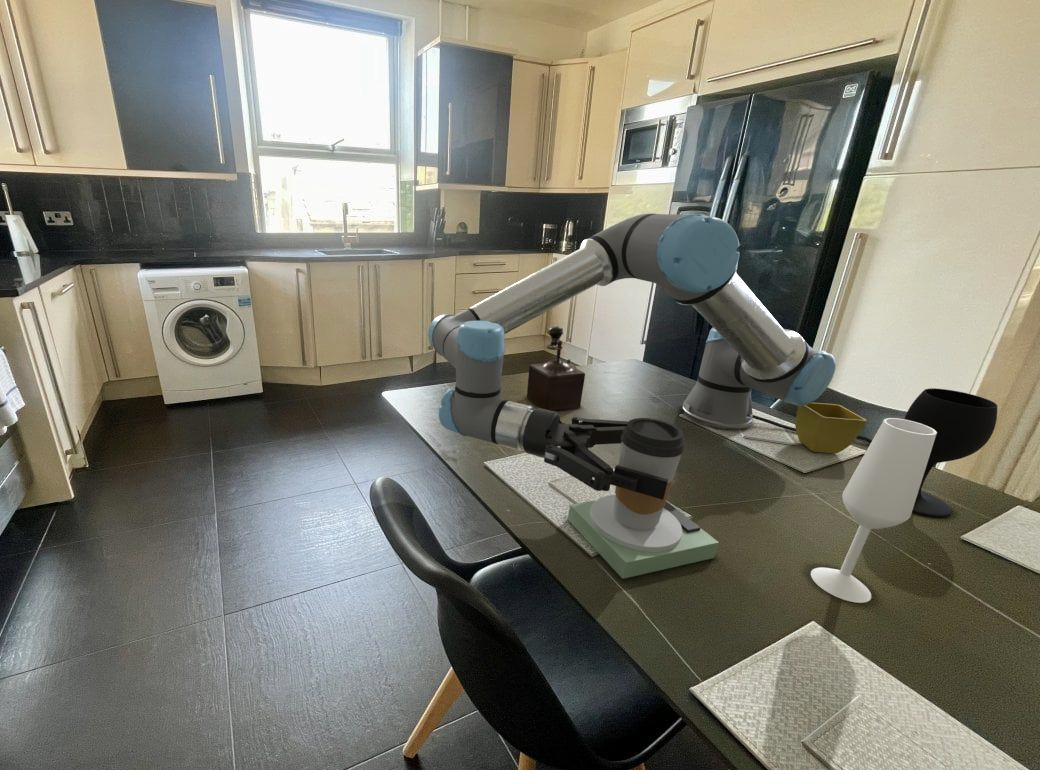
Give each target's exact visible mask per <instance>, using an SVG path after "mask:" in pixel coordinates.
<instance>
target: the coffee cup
mask: <svg viewBox="0 0 1040 770" xmlns="http://www.w3.org/2000/svg"><path fill="white" fill-rule="evenodd" d="M628 421H629V422H628V424H627V426H626V427H625V428H624V429H623V433H622V435H621V441H622V443H621V445H620V454H619V460H618V464H617V465H618V466H622V467H626V468H629V469H633V470H637V471H640V472H644V473H647V474H651V475H655V476H658V477H662V478H665V479H668V483H667V487H666V491H665V495H664V499H663V500H662V499H658V498H655V497H651V496H648V495H645V494H641V493H638V492H635V491H631V490H628V489H625V488H621V487H618V486H615V488H614V489H615V490H614V495H615V502H614V510H613V511H614V514H615V517H616V519H617V520H618V521H619V522H620V523H621V524H622V525H624V526H626V527H628V528H631V529H634V530H639V531H647V530H651V529H653V528H654V527H655V526H656V525H657V524H658V523H659V520H660V517H661V514H662V511H663V508H664V506H665V504H666V501H667V500H668V497H669V495H670V492H671V488H672V486H673V484H674V483H673V482H674V480H675V474H676V471H677V469H678V466H679V463H680V460H681V457H682V455H683V454H684V453H685V445H686V440H685V438H684V432H683V429H681V428H680V427H679V426H676V425H675V424H673V423H670V422H668V421H665V420H662V419H657V418H651V417H650V418H649V417H635V418H632V419H630V420H628ZM667 502H668V501H667Z"/></svg>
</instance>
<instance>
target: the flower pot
mask: <svg viewBox="0 0 1040 770" xmlns="http://www.w3.org/2000/svg"><path fill="white" fill-rule="evenodd" d="M867 421H868V420H867V418H865V417H862V416H860V415H859V414H857V413H855V412H853V411H851V410H850V409H848V408H846V407H844V406H843V405H841V404H835V403H825V402H811V403H809V404H807V405H804V406H797V411H796V416H795V423H794V424H795V428H796V432H795V433H796V436H797V438H798V441H799V443H801V444H802V445H804V446H805V447H806V448H807V449H809V450H810V451H811V452H813V453H814V452H815V453H823V454H824V453H826V454H839V453H841V452H843V451H844V450H846V449H847V448H848V447H850V446H851V445H852V444H853V443H854V442H855V440H856V438H857V436H858V435H859V436H860V433H861V432H862V430H863V428H864V427H865V425H866V423H867Z"/></svg>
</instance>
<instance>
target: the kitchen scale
mask: <svg viewBox="0 0 1040 770" xmlns="http://www.w3.org/2000/svg"><path fill="white" fill-rule="evenodd" d="M614 502H615V494H612V495H605V496H603V497H600V498H598V499H596V500H595V499H594V500H590V501H584V502H577V503H572V504H569V508H568V513H567V514H568V515H567V520H568V521H569V523H571V525H572V526H573V527H574V528H575V529H576V530H577V531H578V532H579V534H581V535H582V537H583V538H584V540H586V541H587V542H588V543H589V544H590V546H592V548H593V549H595V551H596V552H597V553H598V554H599V555H600V556H601V557H602V558H603V559H604V561H605V562H606V563H607V564H608V565H609V566H610V567H611V568H612V569H613V571H615V573H616V574H617V575H618V576H619V577H620V578H621V579H622V580H623V579H624V580H625V579H628V578H632V577H636V576H637V577H638V576H642V575H645V574H650V573H654V572H655V573H656V572H659V571H664V570H667V569H672V568H676V567H680V566H685V565H690V564H693V563H699V562H702V561H706V560H711V559H715V557H716V554H717V550H718V547H719V544H720V542H719V541H718V540H717V539H716V538H714V537H713V536H711V535H710V534H709V533H708V532H706V530H704V529H702V528H701V526H699V524H697V523H696V522H694V520H692V519H690V518H689V517H688V516H687V515H685V514H684V513H682V512H681V511H680V510H679V509H678V508H676V507H675V506H673V505H672V504H671V503H669V502H668V501H666V504H665V506H664V508H663V511H662V514H661V517H660V520H659V523H658V524H657V525H656V526H655V527H654V528H653V529H651V530H647V531H639V530H634V529H631V528H628V527H626V526H624V525H622V524H621V523H620V522H619V521H618V520H617V519H616V517H615V514H614V511H613V510H614Z"/></svg>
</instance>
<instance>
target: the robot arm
mask: <svg viewBox="0 0 1040 770" xmlns="http://www.w3.org/2000/svg"><path fill="white" fill-rule="evenodd" d="M579 245H580V246H579V249H577V250H574V251H573V252H571V253H569V254H568V255H566V256H563V257H562V258H560V259H558V260H556V261H554V262H553V263H550V264H549V265H546V266H545V267H543V268H541V269H539V270H538V271H536V272H533V273H532V274H530V275H528V276H526V277H524V278H522V279H521V280H519V281H517V282H515V283H513V284H511V285H510V286H507V287H505V288H504V289H502V290H500V291H498V292H497V293H495V294H493V295H491V296H489V297H487V298H485V299H484V300H481V301H480V302H478V303H476V304H473V306H471V307H469V308H466V309H465V310H463V311H460V312H458V313H456V314H453V313H443V314H440V315H438V316H436V317H435V318H434V319H433V320H432V322H430V325H429V327H428V333H427V337H428V341H429V343H430V345H431V347H432V348H433V349H434V351H435V352H436V353H437V354H438V355H439V356H441V357H443V358H444V359H445V360H446V361H447V362H448V363H449V364H450V365H451V366H452V367H453V368H454V369H455V385H454V387H451V388H449V389H448V390H447V391H445V393H444V394H443V396H442V397H441V400H440V406H439V407H438V419H439V422H440V424H441V426H442V427H443V428H445V429H446V430H449V431H451V432H453V433H457V434H459V435H461V436H463V437H471V438H474V439H478V440H481V441H485V442H488V443H493V444H496V445H499V446H502V447H505V448H507V449H508V450H516V451H519V452H522V451H524V452H525V454H528V455H532V456H535V457H538V458H541V459H544V460H543V462H544V463H546V464H548V465H551V466H554V467H557V468H558V469H559V470H561V471H562V472H564V473H566V474H568V475H569V476H571V477H573V478H575V479H576V480H577V481H579V482H581V483H583V484H585V485H586V486H588V487H589V488H591V489H592V490H595V491H596V492H601V491H603V492H609V491H610V489H611V486H614V487H616V486H618V487H621V488H625V489H628V490H631V491H635V492H638V493H641V494H645V495H648V496H651V497H655V498H658V499H662V500H663V499H664V495H665V491H666V487H667V483H668V479H665V478H662V477H658V476H655V475H651V474H647V473H644V472H640V471H637V470H633V469H629V468H626V467H622V466H618V465H619V464H615V467H614V468H613V467H612V466H611V465H609V463H607V462H606V461H604V460H603V459H602V458H601V457H599V456H598V455H597V454H595V453H594V452H593V451H592V450H590V449H592V448H594V447H595V446H596V445H617V444H618V445H619V444H621V443H622V441H621V435H622V433H623V429H624V428H625V427H626V426H627V424H628V422H629V421H630V420H628V421H626V420H613V419H612V420H611V419H598V418H596V419H595V418H585V417H580V416H571V419H570V420H571V421H570V423H563V422H562V421H561V417H560V414H559V413H558V411H550V410H546V409H542V408H540V407H537V408H535V407H534V406H533V405H531V404H527V403H521V402H517V401H513V400H507V399H504V398H501V396H500V395H501V385H502V375H503V367H504V366H503V365H504V355H505V352H506V346H505V334H508V333H510V332H511V331H513V330H515V329H517V328H519V327H520V326H522V325H524V324H526V323H528V322H530V321H532V320H534V319H536V318H538V317H539V316H542V315H543V314H545V313H547V312H548V311H550V310H552V309H554V308H556V307H558V306H559V305H562V304H564V303H565V302H567V301H569V300H571V299H572V298H574V297H576V296H578V295H580V294H582V293H584V292H586V291H587V290H589V289H591V288H593V287H595V286H599V287H606V286H609V284H611V283H614V282H617V281H619V280H620V281H621V280H624V279H636V280H640V281H644V282H645V281H646V282H648V283H654V284H656V285H658V286H659V287H661V289H663V290H664V292H666V294H667V295H669V296H670V298H671V299H673V300H674V301H675V302H676V303H677V304H679V305H681V306H692V307H693V308H694V310H696V311H697V312H698V313H699V314H700V315H701V316H702V317H703V319H705V320H706V321H707V322H708V324H710V326H712V327H711V329H710V330H709V333H708V336H707V339H706V341H705V345H704V349H703V354H702V359H701V363H700V367H699V371H698V372H699V373H698V376H697V380H696V383H695V384H694V386H693V388H692V389H691V390H690V392H689V393H688V395H687V396H686V398H685V399H684V400H683V403H682V407H681V413H682V414H683V415H684V416H685V417H687V418H688V419H690V420H691V421H693V422H696V423H698V424H701V425H704V426H708V427H712V428H716V429H723V430H745V429H748V428H750V427H751V425H752V422H753V419H754V420H756V421H757V420H758V421H761V422H764V423H767V424H770V425H773V426H776V427H778V428H780V429H781V428H782V429H785V430H787V431H792V432H795V433H797V432H796V427H792V426H789V425H785V424H782V423H780V422H776V421H774V420H771V419H767V418H765V417H761V416H759V415H755V414H754V413H753V403H752V390H754V391H757V392H760V393H762V394H765V395H768V396H770V397H773V398H775V399H778V400H781V401H783V402H784V403H786V404H791V405H794V406H797V407H798V406H804V405H807V404H809V403H814V402H815V401H816V400H817V399H818V398H819V397H821V396H822V394H824V393H825V391H826V390H827V388H828V387H829V385H831V384H830V383H831V382H832V380H833V378H834V375H835V372H836V366H837V363H836V359H835V357H834V355H833V354H831V353H828V352H826V351H825V350H818V349H816V348H813V347H812V346H810V345H809V344H808V342H806V340H805V339H804V338H803V336H802V335H801V334H799V333H798V332H796V331H794V330H791V329H787V328H783V327H782V326H781V325H780V323H779V322H778V321H777V319H775V317H774V316H773V315H772V314H771V313H770V311H769V310H768V309H767V308H766V307H765V306H764V305H763V303H762V302H761V300H759V298H758V297H757V296H756V295H755V293H754V292H753V291H752V290H751V289H750V287H749V286H748V285H747V284H746V283H745V282H744V280H743V279H742V278H741V276H739V274H738V273H737V270H738V265H739V264H738V263H739V259H740V252H739V251H738V248H739V247H740V241H739V237H738V235H737V233H736V231H735V229H734V228H733V227H732V225H731V224H730V223H728V222H727V221H725V220H723V219H721V218H719V217H715V216H711V215H706V214H701V213H694V214H693V213H692V214H672V213H669V214H667V213H666V214H665V213H650V212H649V213H641V214H637V215H634V216H631V217H629V218H626V219H624V220H621V221H619V222H617V223H614V224H613V225H611V226H609V227H607V228H605V229H603V230H601V231H599V232H597V233H595V234H594V235H592V236H590V237H588V238H586V239H584V240H583V241H582V242H581V243H580V244H579ZM856 439H857V440H862V441H864V442H867V443H868V444H869V445H870V444H871V442H872V440H873V439H871V438H869V437H866V436H864V435H860V434H859V435H858V436H857V438H856ZM856 439H855V440H856Z"/></svg>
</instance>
